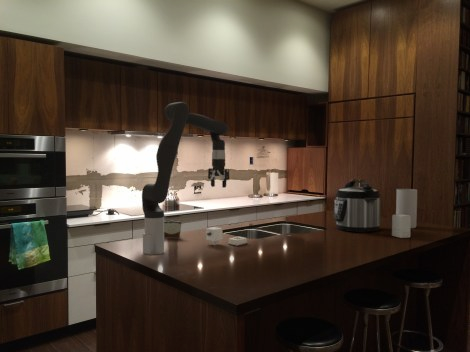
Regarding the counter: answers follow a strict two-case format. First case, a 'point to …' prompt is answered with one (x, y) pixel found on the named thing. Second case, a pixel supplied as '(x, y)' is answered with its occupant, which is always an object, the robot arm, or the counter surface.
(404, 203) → the cylinder vase
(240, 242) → the socket block
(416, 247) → the counter surface
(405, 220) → the supplement box
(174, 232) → the food container
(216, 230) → the plug
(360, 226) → the pressure cooker
